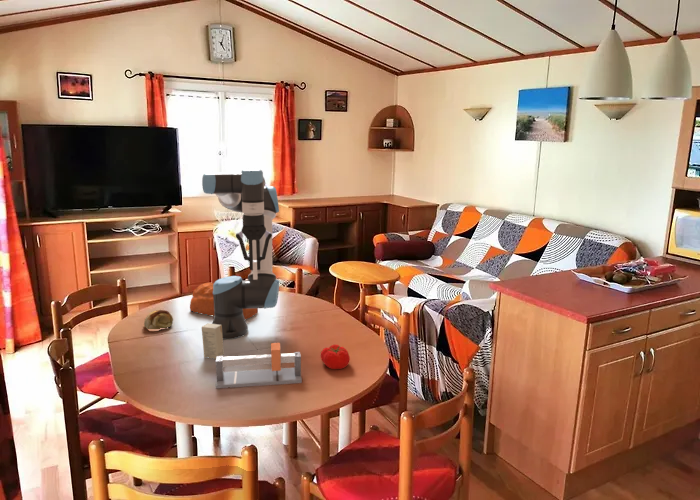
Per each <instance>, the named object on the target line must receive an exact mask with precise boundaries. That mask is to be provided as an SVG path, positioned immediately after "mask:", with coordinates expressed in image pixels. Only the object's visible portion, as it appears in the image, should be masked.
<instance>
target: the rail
mask: <svg viewBox="0 0 700 500" xmlns="http://www.w3.org/2000/svg"><path fill="white" fill-rule="evenodd" d="M280 355H281V364H287V363H288V364H292V363H293V366H294V367H293V368H294V372H295V376H301V377H302V362H301V361H302V354H301V352H300V351H293V352H290V353H280ZM256 365H257V366H258V365H272V359H271V353H270V354H267V353H266V354H254V355H253V354H252V355H250V354H249V355H238V356H237V355H236V356H235V355H232V356H224V355H223V356H217V358H216V359H215V371H216V372H215V373H216V375H215V376H216V382H217V381H223V377H224V372H225V371H224V368H225V367H241V366H256Z"/></svg>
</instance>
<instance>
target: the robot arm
mask: <svg viewBox="0 0 700 500" xmlns="http://www.w3.org/2000/svg"><path fill="white" fill-rule="evenodd" d="M201 182H202V183H201V185H202V191H203V193H204V194H207V195H215V196H216V197H217V199H218V202H219V204H221V206H222V207H224V208H225V209H227V210H229V211H233V212H237V213H242V227H241V231H239V232H236V233H235V237H236V239H237V240H238V242H239V246H240V250H241V252H242V256H243V259H244V261H248V262H249V263H248V264H249V270H250V273H249V274H248V276H247V279H245V280H243V278H242V277H241V276H239V275H231V276H225V277H221V278H218V279H217V280H215V281H214V282H213V283H214V284H213V299H214V316H213V319H212V323H211V324H219V325H222V336H223V340H228V339H229V340H230V339H231V340H232V339H237V338H241V337H243V335H244V336H245V335H247V334H248V332H249V326H248V324H247V322H246V320H245V318H244V315H243V309H251V308H258V309H264V310H265V309H271V308H275V307H276V306H277V304H278V300H279V292H280V280H279V279H277V275H276V274H275V273H274V272H273V219H275V218H276V216H277V214H278V213H280V207H279V200H278V193H277V192H278V191H277V189H276V187H275V186H273V185H266V179H265V177H264V171H263V170H261V169H258V168H248V169H247V168H246V169H242V170H241V172H207V173H206V172H205V173H204V174H203V175H202V181H201ZM243 235H244V236H245V238H246V239H247V240H248V254H247V249H246V246H245V242H244V240H243V239H244V238H243V237H244V236H243Z"/></svg>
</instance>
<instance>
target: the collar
mask: <svg viewBox="0 0 700 500" xmlns="http://www.w3.org/2000/svg"><path fill="white" fill-rule="evenodd" d="M270 354H271V359H272V364H271V369H272V371H281V368H282V367H281V366H282V365H281V364H282V363H281V355H280V354H281V343H280V342H272V343H270Z"/></svg>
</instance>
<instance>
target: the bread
mask: <svg viewBox="0 0 700 500" xmlns="http://www.w3.org/2000/svg"><path fill="white" fill-rule="evenodd" d="M213 284H214V282H205V283H202V284H199V285H198V286H197V287H196V288H195V289H193V291H192V295H191V296H192V297H191V299H190V303H189V310H190V311H191V312H192V311H193V312H192V313H195V312H198V313H197V314H199V313H202V314H201V315H205V314H207V315H206V316H209V315H213V316H212V317H214V299H213ZM258 312H259V308H251V309H243V315H244V318H245V319H246V320H249V319H250V317H251V318H252V317H254V316H255V315H257V314H258ZM253 315H254V316H253Z"/></svg>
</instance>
